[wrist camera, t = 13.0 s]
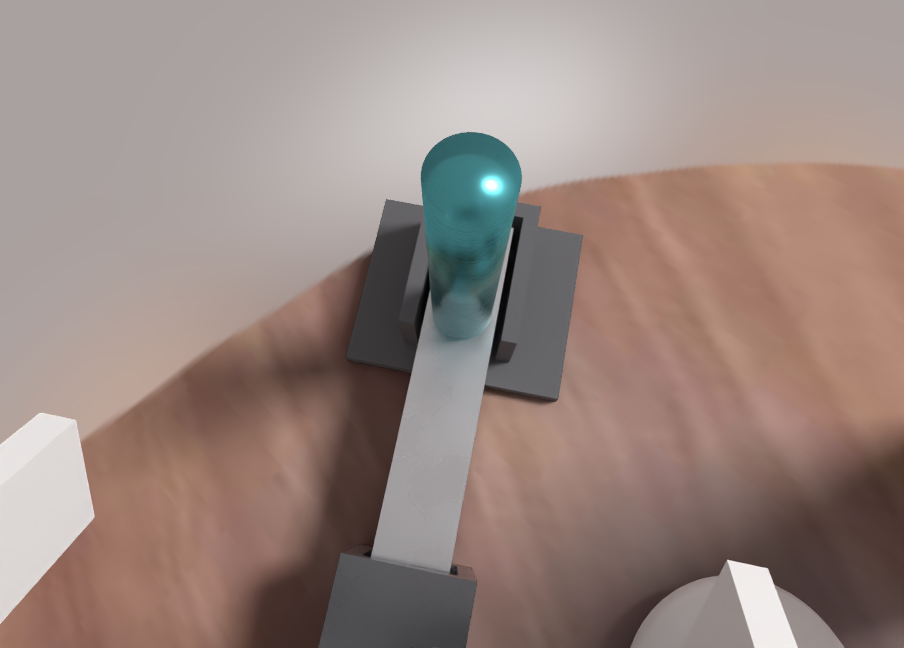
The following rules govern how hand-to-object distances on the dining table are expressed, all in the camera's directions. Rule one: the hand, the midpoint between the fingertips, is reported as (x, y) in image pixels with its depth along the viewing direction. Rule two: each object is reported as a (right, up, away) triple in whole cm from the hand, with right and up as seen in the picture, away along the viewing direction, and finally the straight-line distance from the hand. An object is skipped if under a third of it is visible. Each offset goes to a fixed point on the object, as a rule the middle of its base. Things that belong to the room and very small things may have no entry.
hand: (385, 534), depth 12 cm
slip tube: (+1, -1, +20) cm, 20 cm away
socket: (+2, +6, +24) cm, 24 cm away
